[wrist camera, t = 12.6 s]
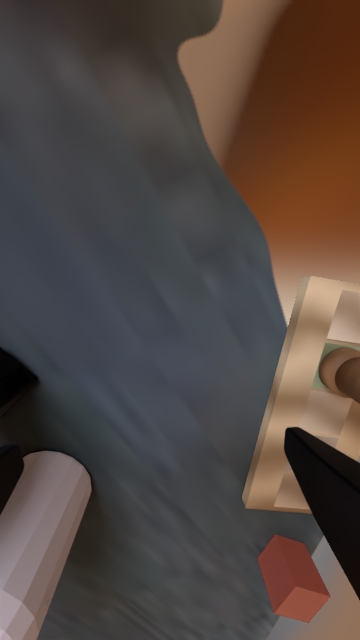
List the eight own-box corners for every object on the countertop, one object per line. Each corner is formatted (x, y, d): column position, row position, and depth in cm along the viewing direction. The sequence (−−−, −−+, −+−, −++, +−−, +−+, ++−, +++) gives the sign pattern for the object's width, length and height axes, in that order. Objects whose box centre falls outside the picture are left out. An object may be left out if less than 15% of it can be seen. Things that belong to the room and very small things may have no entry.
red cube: (286, 566, 27) (308, 622, 23) (257, 557, 26) (274, 613, 22) (304, 543, 26) (330, 596, 22) (274, 533, 26) (295, 586, 21)
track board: (328, 504, 25) (336, 516, 24) (241, 497, 24) (245, 509, 23) (408, 294, 20) (425, 295, 18) (301, 276, 19) (311, 275, 18)
